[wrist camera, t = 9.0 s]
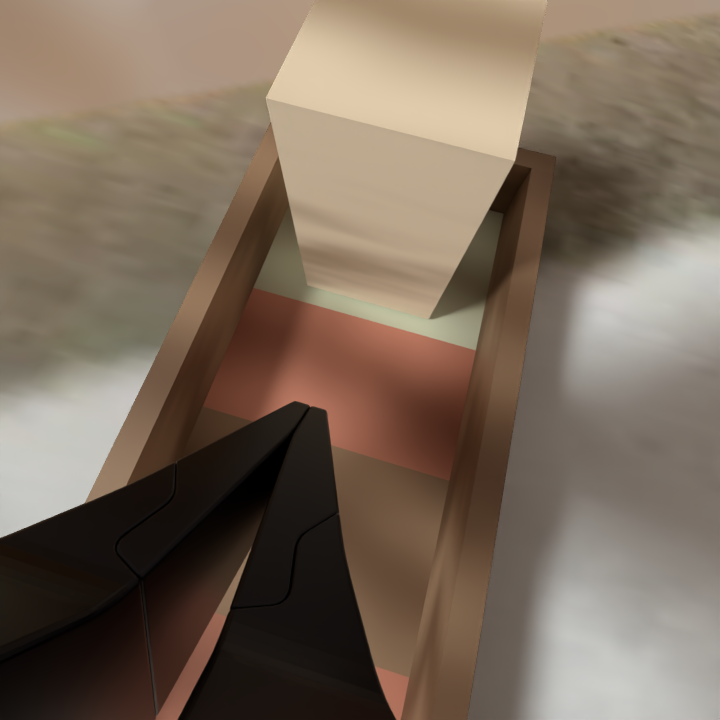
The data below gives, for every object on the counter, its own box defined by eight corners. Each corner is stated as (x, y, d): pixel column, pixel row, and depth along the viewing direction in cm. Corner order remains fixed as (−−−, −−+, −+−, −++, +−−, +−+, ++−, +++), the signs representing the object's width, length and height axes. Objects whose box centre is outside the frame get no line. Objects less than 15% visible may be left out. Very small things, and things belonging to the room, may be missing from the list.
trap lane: (390, 879, 12) (410, 1073, 8) (38, 750, 13) (-97, 874, 9) (516, 216, 20) (556, 157, 16) (297, 159, 21) (286, 89, 17)
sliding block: (428, 319, 17) (514, 161, 8) (307, 285, 17) (266, 97, 8) (457, 202, 19) (552, -25, 10) (349, 174, 19) (350, -70, 10)
